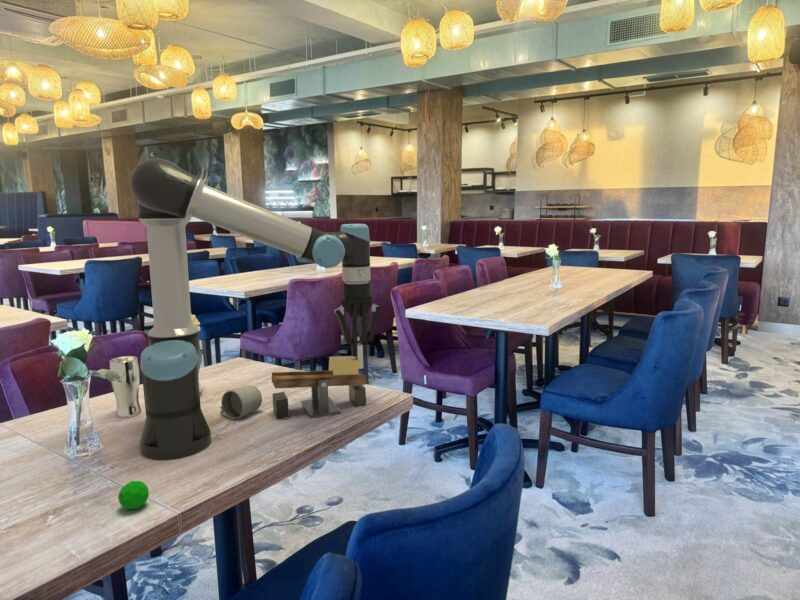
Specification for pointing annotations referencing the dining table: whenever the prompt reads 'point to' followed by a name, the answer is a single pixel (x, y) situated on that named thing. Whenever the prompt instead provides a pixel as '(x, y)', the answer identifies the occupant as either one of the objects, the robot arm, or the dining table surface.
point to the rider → (343, 366)
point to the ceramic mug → (241, 401)
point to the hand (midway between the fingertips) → (359, 367)
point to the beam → (313, 379)
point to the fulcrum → (319, 401)
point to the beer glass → (126, 386)
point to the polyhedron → (133, 495)
